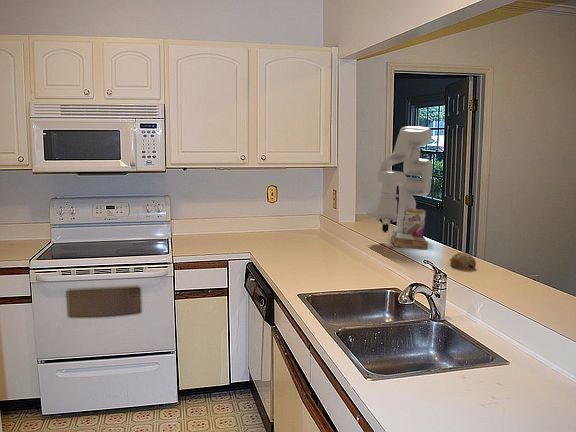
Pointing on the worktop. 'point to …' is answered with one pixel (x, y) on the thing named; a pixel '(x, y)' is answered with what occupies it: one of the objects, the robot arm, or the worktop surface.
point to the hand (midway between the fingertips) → (384, 232)
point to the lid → (402, 235)
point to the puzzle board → (411, 242)
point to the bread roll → (463, 261)
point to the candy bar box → (413, 222)
